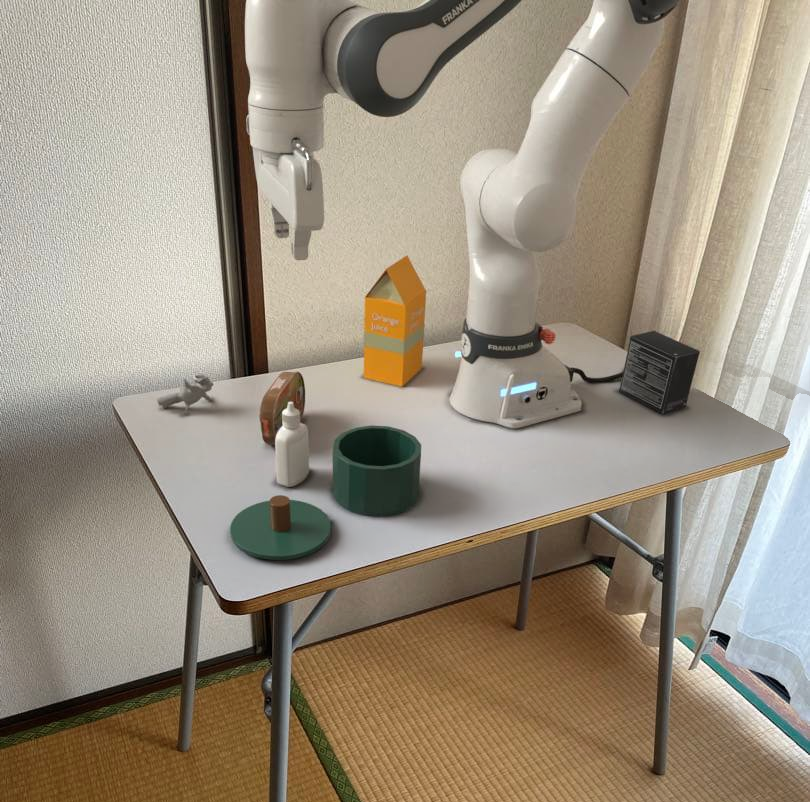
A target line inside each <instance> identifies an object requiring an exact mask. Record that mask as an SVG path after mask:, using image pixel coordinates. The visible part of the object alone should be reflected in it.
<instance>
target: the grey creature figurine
mask: <svg viewBox="0 0 810 802" xmlns="http://www.w3.org/2000/svg"><path fill="white" fill-rule="evenodd" d="M196 373H197V372H196V371H194V373H193V376H192V379H193V381H194V383H196V384H190V383H189V382H188V381H187V379H186V378H184V379H183V384H184V385H183V386H180V388H179V391H178V392H174V393H171V394H170V393H169V394H166V395H163V396H160V397H159V396H157V397H156V402H157V404H158V406H159V407H162V409H166V408H168V407H171V406H173V405H175V404H179V403H183V402H184V404H185V411H184V413H183V415H186V413H187V411H188V409H189V407H190V406H193V405H194V404H195V403H198V401H200V400H201V399H203V398H204V399H205V400H206V401H211V397H210V396H209V395H208V394H207V392H210V391H211V390H212V388H213V386H214V382H212V381H211V379H210V378H209V377H208V376H205V375H204V374H201V373H199V374H197V375H196ZM197 384H198V385H197Z"/></svg>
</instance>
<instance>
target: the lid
mask: <svg viewBox="0 0 810 802" xmlns="http://www.w3.org/2000/svg"><path fill="white" fill-rule="evenodd" d="M229 533H230V538H231V540H232V542H233V544H234V545H235V546H236V547H237V548H238V550H240V551H242V552H243V553H245V554H247V555H250V556H252V557H254V558H255V557H256V558H260V559H264V560H272V561H275V560H276V561H281V560H282V561H283V560H292V559H297V558H302V557H304V556H308V555H310V554H312V553H314V552H316V551H318V550H319V549H320V548H322V547H323V546H324V545H325V544H326V543H327V541H328V540H329V538H330V536H331V533H332V523H331V520H330V518H329V516H328V515H327V513H325V512H324V511H323V510H322V509H321V508H319V507H318V506H316V505H314V504H312V503H309V502H305V501H302V500H295V499H290V498H289V497H288V496H286V495H282V494H280V495H274V496H272V497H271V498H269V500H265V501H261V502H257V503H255V504H252V505H249V506H247V507H246V508H244V509H243V510H241V511H240V512H238V513H237V514H236V516H235V517H234V518H233V520H232V521H231V523H230V527H229Z"/></svg>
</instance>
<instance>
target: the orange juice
mask: <svg viewBox="0 0 810 802" xmlns="http://www.w3.org/2000/svg"><path fill="white" fill-rule="evenodd" d="M426 302H427V289H426V288H425V286H424V284H423V282H422V280H421V278H420V277H419V275H418V273H417V270H416V269H415V267H414V265H413V264H412V262H411V259H410V257H409V255H405V256H403V257H402V258H401V259H399V260H398V261H395V262H394V263H393V264H391V265H390V266H388V267H387V268H385V270H384V271H383V272H382V274H381V275H380V277H379V278H378V279H377V281H376V282H374V285H373V286H372V287H371V288H370V290H369V291H368V293H367V294H366V295H365V297H364V325H363V326H364V331H363V378H364V379H368V380H372V381H376V382H381V383H383V384H384V383H385V384H389V385H394V386H398V387H404V386H405V385H406V384H407V383H409V381H410V380H411V379H412V378H413V377H414V376H415V375H416V374H418V372H420V371H421V370H422V369H423V356H424V355H423V354H424V351H423V350H424V338H425V327H426V326H425V325H426V324H425V321H426V304H427V303H426Z"/></svg>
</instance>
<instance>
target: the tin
mask: <svg viewBox="0 0 810 802" xmlns="http://www.w3.org/2000/svg"><path fill="white" fill-rule="evenodd" d="M304 380H305V379H304V377H303V375H302V373H301V372H300V371H295V372H294V371H283V372H281V373H280V374H279V375H278V376H277V378H276V379H275V380H274V382H273V383H272V384H271V386H270V387H269V388H268V389H267V390H266V392H265V394H264V396H263V397H262V399H261V404H260V408H259V422H260V430H261V431H260V432H261V438H262V441H263V442H264V443H265V444H266V445H271V446H275V438H276V435H277V433H278V431H279V429H280V428H281V427H282V426H283V424H282V411H283V410H285V409H287V406H288V402H293V404H294V408H295V409H297V410H299V411H300V422H301V421H302V419H303V416H304V413H305V406H306V386H305V381H304Z"/></svg>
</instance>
